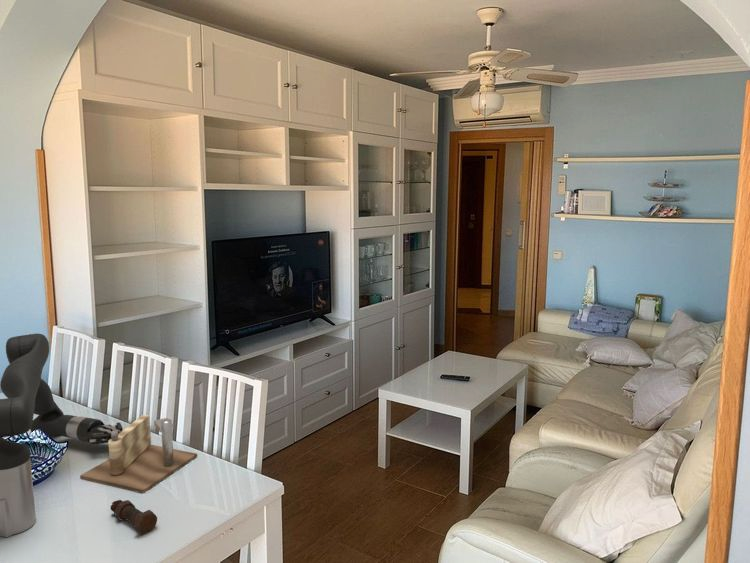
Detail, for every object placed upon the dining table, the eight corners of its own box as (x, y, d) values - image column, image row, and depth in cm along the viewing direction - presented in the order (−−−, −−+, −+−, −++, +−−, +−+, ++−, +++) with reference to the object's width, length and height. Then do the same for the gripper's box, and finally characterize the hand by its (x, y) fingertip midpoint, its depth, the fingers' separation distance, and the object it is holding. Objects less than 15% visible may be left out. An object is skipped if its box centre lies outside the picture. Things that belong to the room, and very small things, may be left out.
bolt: (119, 517, 155) (151, 536, 146) (102, 515, 151) (134, 535, 142) (128, 494, 156) (160, 512, 147) (111, 492, 152) (144, 510, 143)
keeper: (163, 468, 175) (160, 424, 173) (156, 458, 182) (153, 415, 179) (176, 464, 178) (174, 421, 175) (169, 454, 184) (167, 412, 182)
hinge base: (143, 493, 163) (140, 446, 161) (80, 478, 171) (76, 433, 168) (197, 456, 185) (195, 414, 183) (139, 444, 193) (136, 404, 191)
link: (119, 475, 170) (117, 443, 169) (108, 474, 170) (105, 442, 169) (152, 444, 191) (151, 415, 189) (142, 443, 191) (140, 414, 189)
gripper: (67, 426, 184) (110, 434, 178) (100, 411, 196) (141, 418, 190) (69, 448, 185) (112, 457, 179) (101, 432, 197) (142, 440, 192)
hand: (127, 437), depth 185 cm, fingers closed
